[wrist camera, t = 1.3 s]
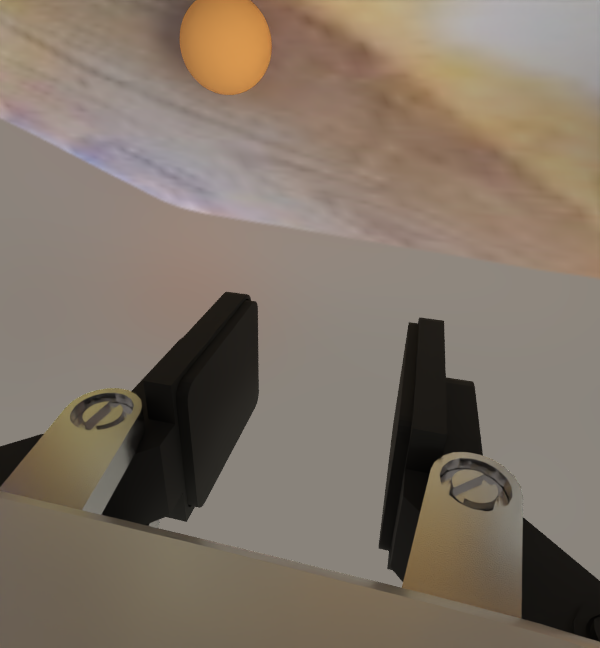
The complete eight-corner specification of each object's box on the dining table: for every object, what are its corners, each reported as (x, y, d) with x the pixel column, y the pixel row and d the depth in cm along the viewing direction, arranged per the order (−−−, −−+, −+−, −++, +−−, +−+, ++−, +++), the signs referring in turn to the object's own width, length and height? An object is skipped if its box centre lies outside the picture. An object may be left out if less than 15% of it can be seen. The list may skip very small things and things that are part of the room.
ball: (282, -4, 30) (254, -17, 26) (281, 94, 33) (255, 99, 28) (199, -5, 31) (157, -17, 27) (205, 90, 34) (167, 95, 29)
